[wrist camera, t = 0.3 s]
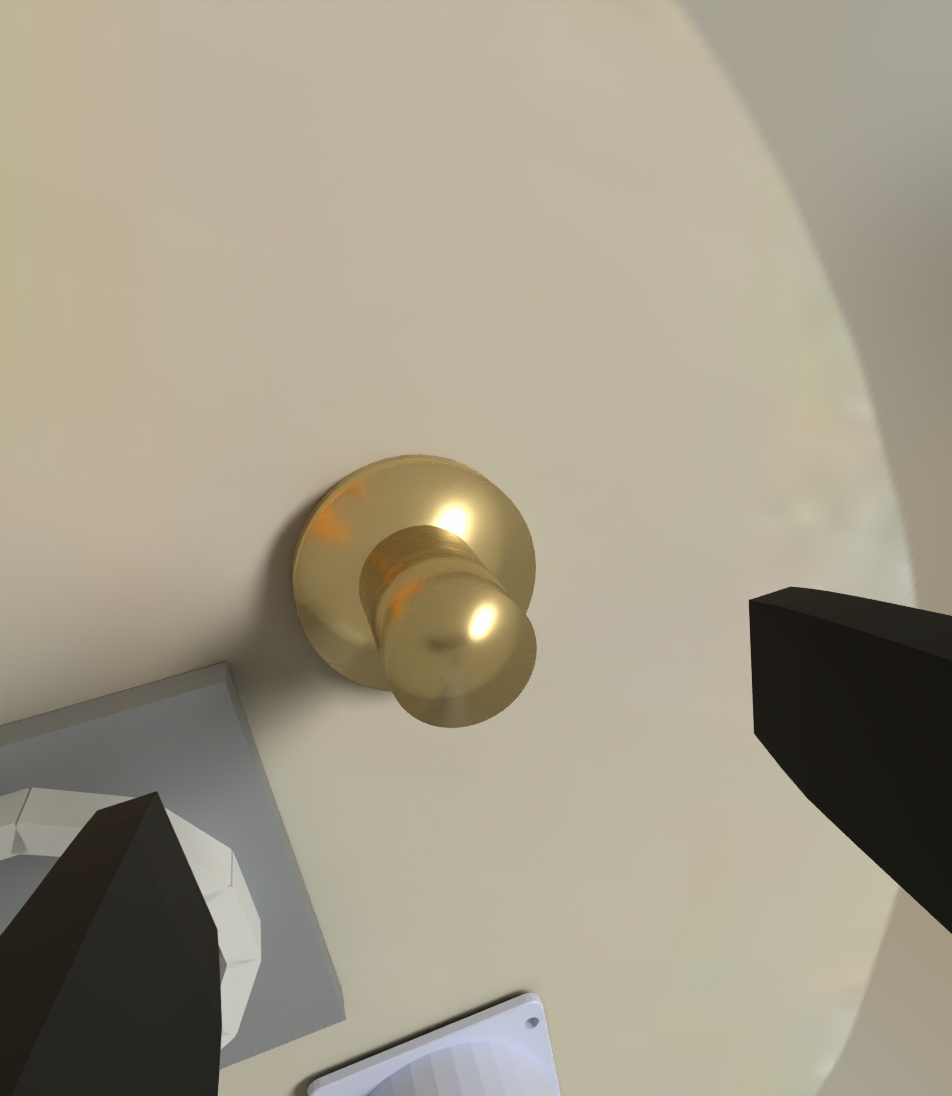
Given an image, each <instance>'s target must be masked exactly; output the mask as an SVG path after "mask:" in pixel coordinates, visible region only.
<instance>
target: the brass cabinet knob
mask: <svg viewBox="0 0 952 1096" xmlns="http://www.w3.org/2000/svg"><path fill="white" fill-rule="evenodd" d="M535 571H536V563H535V551H534V547H533V542H532V538H531V535H530V532H529V530H528V527H527V524H526V523H525V521H524V519H523V517H522V515H521V513H520V512H519V510H518V509H517V508H516V506H515V505H514V504H513V502H512V501H511V500H510V499H509V498H508V497H507V496H506V495H505V494H504V493H503V492H502V491H501V490H500V489H499V488H498V487H496V486H495V485H494V484H493V483H492V482H490V481H489V480H488V479H487V478H485V477H484V476H482V475H481V474H480V473H478V472H477V471H475V470H473V469H471V468H470V467H468V466H466V465H464V464H461V463H459V462H456V461H453V460H451V459H446V458H442V457H437V456H429V455H403V456H397V457H392V458H387V459H383V460H380V461H377V462H374V463H371V464H369V465H367V466H365V467H362V468H360V469H358V470H356V471H355V472H353V473H351V474H350V475H348V476H346V477H345V478H343V479H342V480H341V481H340V482H338V483H337V484H336V485H335V486H333V487H332V488H331V489H330V490H329V491H328V492H327V493H326V494H325V495H324V496H323V497H322V498H321V499H320V500H319V502H318V503H317V504H316V506H315V507H314V509H313V510H312V511H311V513H310V514H309V516H308V518H307V520H306V521H305V523H304V525H303V527H302V529H301V532H300V535H299V537H298V540H297V543H296V547H295V551H294V556H293V564H292V583H293V593H294V599H295V605H296V610H297V614H298V618H299V621H300V624H301V626H302V629H303V631H304V633H305V635H306V637H307V639H308V640H309V642H310V644H311V646H312V647H313V648H314V649H315V651H316V652H317V653H318V655H319V656H320V657H321V658H322V659H323V660H324V661H325V662H326V663H327V664H328V665H329V666H330V667H332V668H333V669H335V670H336V671H337V672H339V673H340V674H341V675H343V676H345V677H347V678H349V679H351V680H352V681H354V682H356V683H359V684H362V685H365V686H367V687H370V688H375V689H379V690H383V691H392V692H393V694H394V695H395V697H396V699H397V701H398V702H399V704H400V705H401V706H402V707H403V708H404V709H405V710H406V711H407V712H408V713H409V714H410V715H412V716H413V717H415V718H416V719H418V720H420V721H422V722H424V723H427V724H430V725H433V726H438V727H446V728H457V727H465V726H470V725H474V724H477V723H480V722H483V721H485V720H487V719H489V718H491V717H493V716H495V715H497V714H498V713H500V712H501V711H503V710H504V709H505V708H506V707H508V706H509V705H510V704H511V703H512V702H513V701H514V700H515V699H516V698H517V697H518V696H519V694H520V693H521V692H522V690H523V689H524V687H525V686H526V684H527V683H528V681H529V678H530V676H531V674H532V671H533V668H534V665H535V660H536V650H537V646H536V637H535V633H534V630H533V627H532V624H531V622H530V621H529V619H528V617H527V615H526V612H527V609H528V607H529V604H530V600H531V597H532V594H533V588H534V583H535Z"/></svg>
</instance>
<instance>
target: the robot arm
mask: <svg viewBox="0 0 952 1096" xmlns="http://www.w3.org/2000/svg"><path fill="white" fill-rule="evenodd" d="M749 617H750V642H751V668H752V693H753V718H754V734H755V735H756V737H757V738H758V739H759V740H760V742H761V743H762V744H763V745H764V747H765V748H766V749H767V750H768V752H769V753H770V754H771V755H772V757H773V758H774V759H775V760H776V762H777V763H778V764H779V766H780V767H781V768H782V769H783V770H784V772H785V773H786V774H787V775H788V776H789V777H790V779H791V780H792V781H793V782H794V783H795V784H796V786H797V787H798V788H799V789H800V790H801V791H802V793H803V794H804V795H805V796H806V797H807V798H808V799H809V800H810V801H811V802H812V803H813V804H814V805H815V806H816V807H817V808H818V809H819V810H820V811H821V812H822V813H823V814H824V815H825V816H826V817H827V818H828V819H829V820H831V821H832V822H833V823H834V824H835V825H836V826H837V827H838V828H839V829H840V830H841V831H842V832H843V833H844V834H845V835H846V836H847V837H848V838H850V839H851V840H852V841H853V842H854V843H855V844H856V845H857V846H858V847H859V848H860V849H861V850H862V851H863V852H864V853H865V854H867V855H868V856H869V857H870V858H871V859H872V860H873V861H874V862H875V863H876V864H877V865H878V866H879V867H880V868H882V869H883V870H884V871H885V872H886V873H887V874H888V875H889V876H890V877H891V878H892V879H893V880H894V881H896V882H897V883H898V884H899V885H900V886H901V887H902V888H903V889H904V890H905V891H906V892H907V893H908V894H910V895H911V896H912V897H913V898H914V899H915V900H916V901H917V902H918V903H919V904H920V905H921V906H922V907H924V908H925V909H926V910H927V911H928V912H929V913H930V914H931V915H932V916H933V917H934V918H935V919H936V920H938V921H939V922H940V923H941V924H942V925H943V926H944V927H945V928H946V929H947V930H948V931H949V932H950V933H951V934H952V616H950V615H945V614H940V613H935V612H931V611H926V610H921V609H916V608H911V607H906V606H901V605H897V604H892V603H887V602H882V601H877V600H872V599H867V598H862V597H857V596H851V595H846V594H841V593H835V592H829V591H823V590H816V589H809V588H799V587H788V588H785V589H782V590H779V591H776V592H773V593H770V594H766V595H763V596H760V597H757V598H754V599H751V600H749ZM221 1036H222V1010H221V982H220V964H219V946H218V929H217V927H216V925H215V922H214V920H213V918H212V915H211V913H210V911H209V909H208V906H207V904H206V902H205V899H204V897H203V895H202V893H201V890H200V888H199V886H198V883H197V881H196V879H195V877H194V874H193V872H192V870H191V867H190V865H189V863H188V860H187V858H186V856H185V854H184V851H183V849H182V847H181V844H180V842H179V840H178V838H177V835H176V833H175V831H174V828H173V826H172V824H171V822H170V819H169V817H168V815H167V812H166V810H165V808H164V806H163V803H162V801H161V799H160V796H159V794H158V792H157V791H156V792H153V793H149V794H146V795H143V796H140V797H137V798H134V799H131V800H128V801H125V802H122V803H118V804H115V805H112V806H109V807H106V808H103V809H100V810H97V811H96V812H95V814H94V815H93V816H92V817H91V818H90V820H89V821H88V822H87V823H86V824H85V826H84V827H83V828H82V829H81V831H80V832H79V833H78V834H77V836H76V837H75V838H74V840H73V841H72V842H71V843H70V845H69V846H68V847H67V849H66V850H65V851H64V853H63V854H62V855H61V857H60V858H59V859H58V860H57V862H56V863H55V864H54V866H53V867H52V868H51V870H50V871H49V872H48V874H47V875H46V876H45V878H44V879H43V880H42V882H41V883H40V884H39V886H38V887H37V888H36V890H35V891H34V892H33V894H32V895H31V896H30V898H29V899H28V900H27V902H26V903H25V904H24V906H23V907H22V908H21V910H20V911H19V912H18V913H17V915H16V916H15V917H14V919H13V920H12V921H11V923H10V924H9V925H8V926H7V928H6V929H5V930H4V932H3V933H2V934H1V935H0V1096H218V1082H219V1067H220V1052H221ZM307 1095H308V1096H561V1095H560V1090H559V1085H558V1080H557V1075H556V1070H555V1065H554V1060H553V1055H552V1050H551V1045H550V1040H549V1035H548V1029H547V1024H546V1019H545V1014H544V1009H543V1005H542V1003H541V1000H540V998H539V996H538V995H537V994H535V993H526V994H522V995H520V996H518V997H515V998H513V999H510V1000H508V1001H505V1002H503V1003H500V1004H498V1005H496V1006H493V1007H491V1008H488V1009H486V1010H483V1011H481V1012H479V1013H476V1014H474V1015H471V1016H469V1017H466V1018H464V1019H461V1020H459V1021H457V1022H454V1023H452V1024H449V1025H447V1026H444V1027H442V1028H440V1029H437V1030H435V1031H432V1032H430V1033H427V1034H425V1035H422V1036H420V1037H418V1038H415V1039H413V1040H410V1041H408V1042H405V1043H403V1044H401V1045H398V1046H396V1047H393V1048H391V1049H388V1050H386V1051H383V1052H381V1053H379V1054H376V1055H374V1056H371V1057H369V1058H366V1059H364V1060H361V1061H359V1062H357V1063H354V1064H352V1065H349V1066H347V1067H344V1068H342V1069H340V1070H337V1071H335V1072H332V1073H330V1074H327V1075H325V1076H322V1077H320V1078H318V1079H316V1080H315V1081H313V1082H312V1083H311V1084H310V1085H309V1087H308V1090H307Z"/></svg>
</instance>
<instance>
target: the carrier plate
mask: <svg viewBox="0 0 952 1096" xmlns="http://www.w3.org/2000/svg"><path fill="white" fill-rule="evenodd" d="M156 791H157V792H158V794H159V796H160V799H161V801H162V803H163V806H164V808H165V810H166V812H167V815H168V817H169V819H170V822H171V824H172V826H173V828H174V831H175V833H176V835H177V838H178V840H179V842H180V844H181V847H182V849H183V851H184V854H185V856H186V858H187V860H188V863H189V865H190V867H191V870H192V872H193V874H194V877H195V879H196V881H197V883H198V886H199V888H200V890H201V893H202V895H203V897H204V899H205V902H206V904H207V906H208V909H209V911H210V913H211V915H212V918H213V920H214V922H215V925H216V927H217V929H218V946H219V964H220V982H221V1010H222V1036H221V1052H220V1067H219V1070H220V1069H222V1068H225V1067H227V1066H230V1065H232V1064H235V1063H237V1062H240V1061H242V1060H245V1059H247V1058H250V1057H253V1056H255V1055H258V1054H260V1053H263V1052H265V1051H268V1050H270V1049H273V1048H275V1047H278V1046H280V1045H283V1044H285V1043H288V1042H290V1041H293V1040H295V1039H298V1038H300V1037H303V1036H305V1035H308V1034H310V1033H313V1032H316V1031H318V1030H321V1029H323V1028H326V1027H328V1026H331V1025H333V1024H336V1023H338V1022H341V1021H343V1020H346V1016H345V1009H344V1001H343V994H342V989H341V986H340V983H339V980H338V977H337V974H336V972H335V969H334V966H333V963H332V960H331V957H330V955H329V952H328V949H327V946H326V943H325V940H324V938H323V935H322V932H321V929H320V926H319V923H318V921H317V918H316V915H315V912H314V909H313V906H312V904H311V901H310V898H309V895H308V892H307V889H306V887H305V884H304V881H303V878H302V875H301V872H300V870H299V867H298V864H297V861H296V858H295V855H294V853H293V850H292V847H291V844H290V841H289V838H288V836H287V833H286V830H285V827H284V824H283V821H282V819H281V816H280V813H279V810H278V807H277V804H276V802H275V799H274V796H273V793H272V790H271V787H270V785H269V782H268V779H267V776H266V773H265V771H264V768H263V765H262V762H261V759H260V756H259V754H258V751H257V748H256V745H255V742H254V739H253V737H252V734H251V731H250V728H249V725H248V722H247V720H246V717H245V714H244V711H243V708H242V705H241V703H240V700H239V697H238V694H237V691H236V688H235V686H234V683H233V680H232V677H231V674H230V671H229V669H228V666H227V663H226V662H222V663H219V664H215V665H212V666H208V667H205V668H201V669H198V670H194V671H191V672H188V673H184V674H181V675H177V676H174V677H170V678H167V679H163V680H160V681H156V682H153V683H149V684H146V685H142V686H139V687H135V688H132V689H128V690H125V691H121V692H118V693H114V694H111V695H107V696H104V697H100V698H97V699H93V700H90V701H86V702H83V703H79V704H76V705H72V706H69V707H65V708H62V709H59V710H55V711H52V712H48V713H45V714H41V715H38V716H34V717H31V718H27V719H24V720H20V721H17V722H13V723H10V724H6V725H3V726H0V935H1V934H2V933H3V932H4V930H5V929H6V928H7V926H8V925H9V924H10V923H11V921H12V920H13V919H14V917H15V916H16V915H17V913H18V912H19V911H20V910H21V908H22V907H23V906H24V904H25V903H26V902H27V900H28V899H29V898H30V896H31V895H32V894H33V892H34V891H35V890H36V888H37V887H38V886H39V884H40V883H41V882H42V880H43V879H44V878H45V876H46V875H47V874H48V872H49V871H50V870H51V868H52V867H53V866H54V864H55V863H56V862H57V860H58V859H59V858H60V857H61V855H62V854H63V853H64V851H65V850H66V849H67V847H68V846H69V845H70V843H71V842H72V841H73V840H74V838H75V837H76V836H77V834H78V833H79V832H80V831H81V829H82V828H83V827H84V826H85V824H86V823H87V822H88V821H89V820H90V818H91V817H92V816H93V815H94V814H95V812H96V811H97V810H100V809H103V808H106V807H109V806H112V805H115V804H118V803H122V802H125V801H128V800H131V799H134V798H137V797H140V796H143V795H146V794H149V793H153V792H156Z"/></svg>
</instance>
